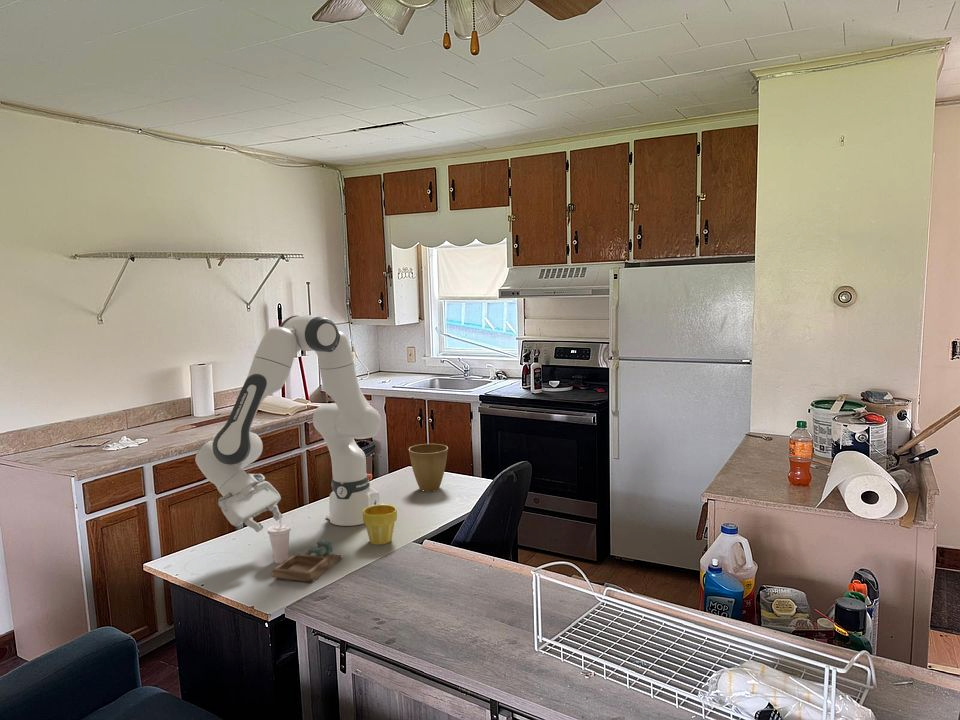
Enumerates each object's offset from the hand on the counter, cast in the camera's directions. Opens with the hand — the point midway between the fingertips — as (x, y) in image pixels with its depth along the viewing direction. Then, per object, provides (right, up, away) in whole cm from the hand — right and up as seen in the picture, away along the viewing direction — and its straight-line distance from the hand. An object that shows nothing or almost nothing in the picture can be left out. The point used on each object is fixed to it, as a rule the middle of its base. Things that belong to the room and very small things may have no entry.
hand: (270, 524), depth 192 cm
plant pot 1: (+30, -8, +13) cm, 34 cm away
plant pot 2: (+41, -3, +65) cm, 77 cm away
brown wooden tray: (+13, -11, -5) cm, 18 cm away
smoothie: (+3, -11, 0) cm, 11 cm away
